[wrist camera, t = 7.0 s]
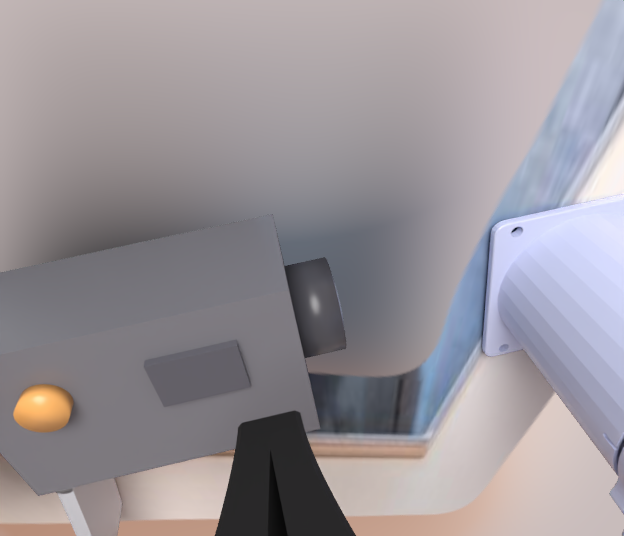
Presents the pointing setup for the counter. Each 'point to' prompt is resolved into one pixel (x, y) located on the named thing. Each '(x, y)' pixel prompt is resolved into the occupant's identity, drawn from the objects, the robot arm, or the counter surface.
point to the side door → (93, 508)
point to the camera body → (157, 351)
